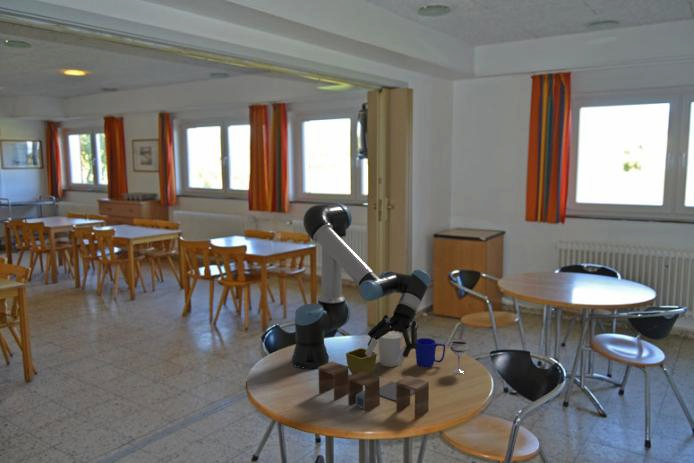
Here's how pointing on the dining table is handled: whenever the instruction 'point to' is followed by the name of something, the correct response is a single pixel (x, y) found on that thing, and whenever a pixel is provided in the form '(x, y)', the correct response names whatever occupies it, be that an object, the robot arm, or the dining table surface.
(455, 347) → the wineglass
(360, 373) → the cover middle
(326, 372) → the cover left
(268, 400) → the dining table surface
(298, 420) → the dining table surface
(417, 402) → the cover right
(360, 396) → the cube
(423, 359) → the mug
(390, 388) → the mat
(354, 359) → the flower pot
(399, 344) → the candle holder
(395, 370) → the dining table surface
